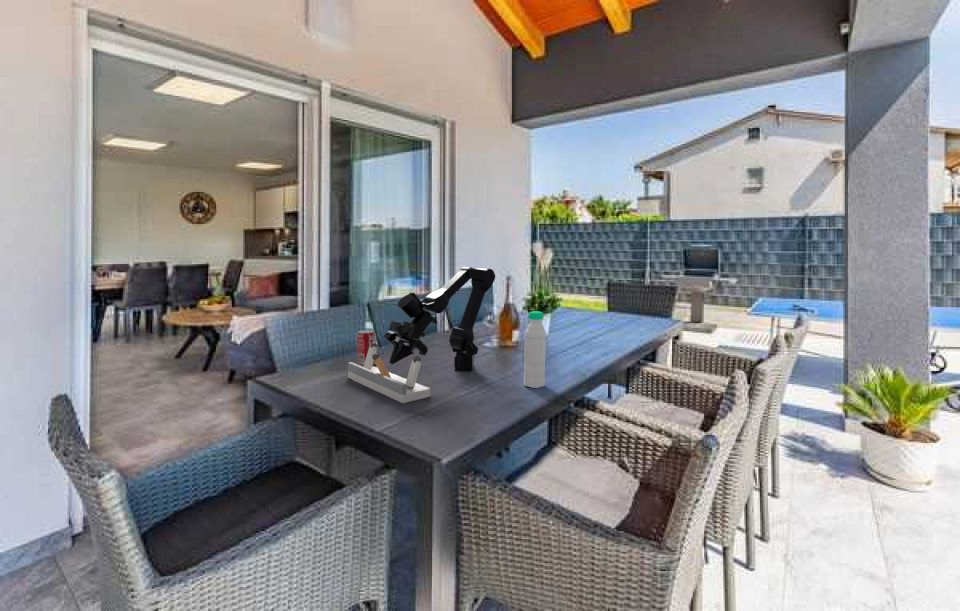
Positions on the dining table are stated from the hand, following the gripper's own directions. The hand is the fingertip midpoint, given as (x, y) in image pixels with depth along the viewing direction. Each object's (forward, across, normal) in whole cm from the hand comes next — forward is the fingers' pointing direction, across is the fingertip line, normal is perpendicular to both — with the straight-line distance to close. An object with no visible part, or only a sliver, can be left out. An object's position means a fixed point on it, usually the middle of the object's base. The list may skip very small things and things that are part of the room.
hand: (390, 363), depth 160 cm
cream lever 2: (+4, +13, +2) cm, 14 cm away
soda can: (0, -29, +11) cm, 31 cm away
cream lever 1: (+4, -13, +2) cm, 14 cm away
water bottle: (-20, +30, +32) cm, 48 cm away
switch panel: (+6, 0, +4) cm, 8 cm away
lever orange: (+4, 0, +2) cm, 5 cm away
